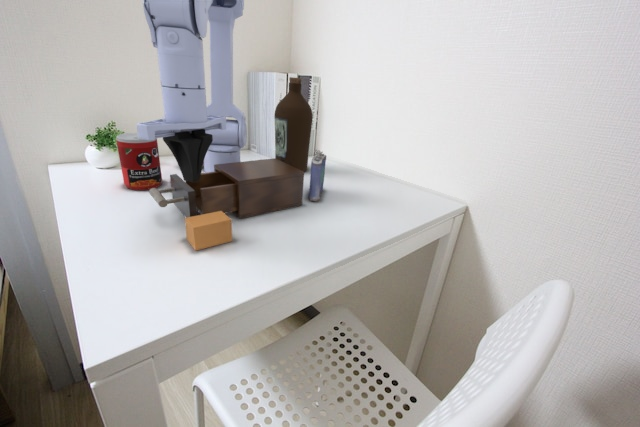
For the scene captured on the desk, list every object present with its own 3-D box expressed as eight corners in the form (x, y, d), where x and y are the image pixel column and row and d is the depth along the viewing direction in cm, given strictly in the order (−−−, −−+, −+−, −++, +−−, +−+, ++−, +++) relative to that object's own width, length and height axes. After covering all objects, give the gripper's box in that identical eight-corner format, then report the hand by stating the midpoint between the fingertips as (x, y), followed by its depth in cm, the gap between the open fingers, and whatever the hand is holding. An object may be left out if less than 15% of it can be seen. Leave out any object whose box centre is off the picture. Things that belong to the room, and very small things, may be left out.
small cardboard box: (186, 240, 51) (184, 217, 49) (222, 231, 54) (221, 210, 53) (195, 251, 48) (193, 227, 46) (232, 241, 51) (231, 219, 50)
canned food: (129, 192, 66) (120, 140, 62) (120, 182, 72) (111, 133, 67) (167, 187, 71) (161, 138, 67) (156, 177, 76) (150, 131, 72)
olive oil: (298, 162, 100) (302, 78, 90) (315, 172, 92) (322, 80, 82) (267, 165, 95) (268, 75, 84) (283, 175, 87) (286, 77, 76)
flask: (318, 202, 70) (322, 155, 66) (305, 200, 71) (308, 153, 66) (324, 189, 79) (327, 147, 74) (312, 188, 79) (315, 145, 75)
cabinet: (239, 219, 59) (238, 180, 56) (215, 198, 67) (213, 164, 64) (302, 205, 68) (304, 171, 65) (274, 189, 76) (275, 158, 73)
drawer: (164, 228, 52) (160, 196, 49) (149, 206, 59) (144, 177, 56) (260, 209, 62) (260, 181, 60) (237, 192, 69) (236, 167, 67)
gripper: (201, 85, 51) (206, 165, 57) (113, 83, 39) (131, 186, 44) (235, 89, 49) (237, 173, 54) (153, 89, 36) (167, 197, 42)
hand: (191, 180), depth 49 cm, fingers closed
